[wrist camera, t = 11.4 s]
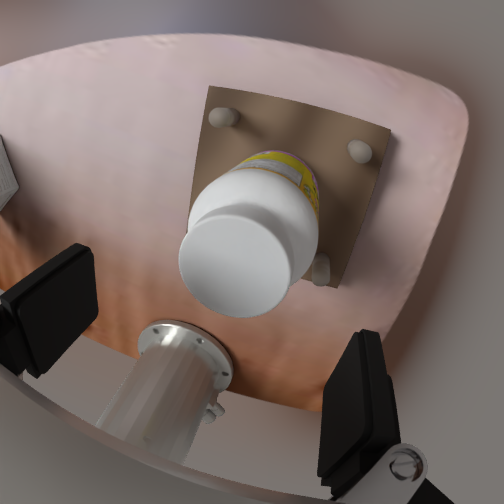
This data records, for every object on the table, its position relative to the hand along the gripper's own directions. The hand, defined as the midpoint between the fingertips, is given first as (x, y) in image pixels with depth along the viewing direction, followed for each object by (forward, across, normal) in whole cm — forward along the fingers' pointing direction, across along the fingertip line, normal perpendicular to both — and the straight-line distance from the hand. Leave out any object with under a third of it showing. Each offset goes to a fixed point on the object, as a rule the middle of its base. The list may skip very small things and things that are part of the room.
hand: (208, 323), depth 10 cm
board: (+17, 0, -1) cm, 17 cm away
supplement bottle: (+16, 0, -1) cm, 16 cm away
